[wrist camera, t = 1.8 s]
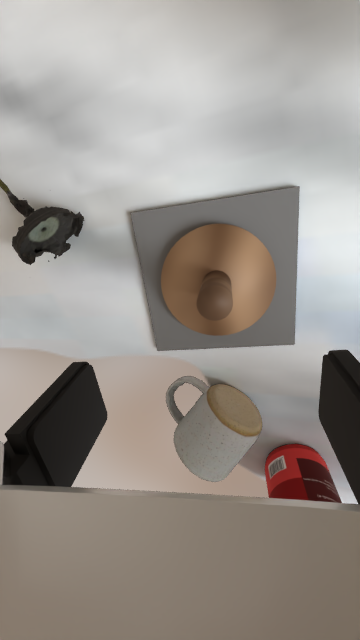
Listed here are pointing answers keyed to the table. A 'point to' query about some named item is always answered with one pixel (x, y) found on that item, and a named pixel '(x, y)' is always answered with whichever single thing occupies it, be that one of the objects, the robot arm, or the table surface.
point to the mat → (242, 211)
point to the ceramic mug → (214, 429)
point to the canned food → (299, 475)
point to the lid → (218, 279)
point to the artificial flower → (43, 229)
